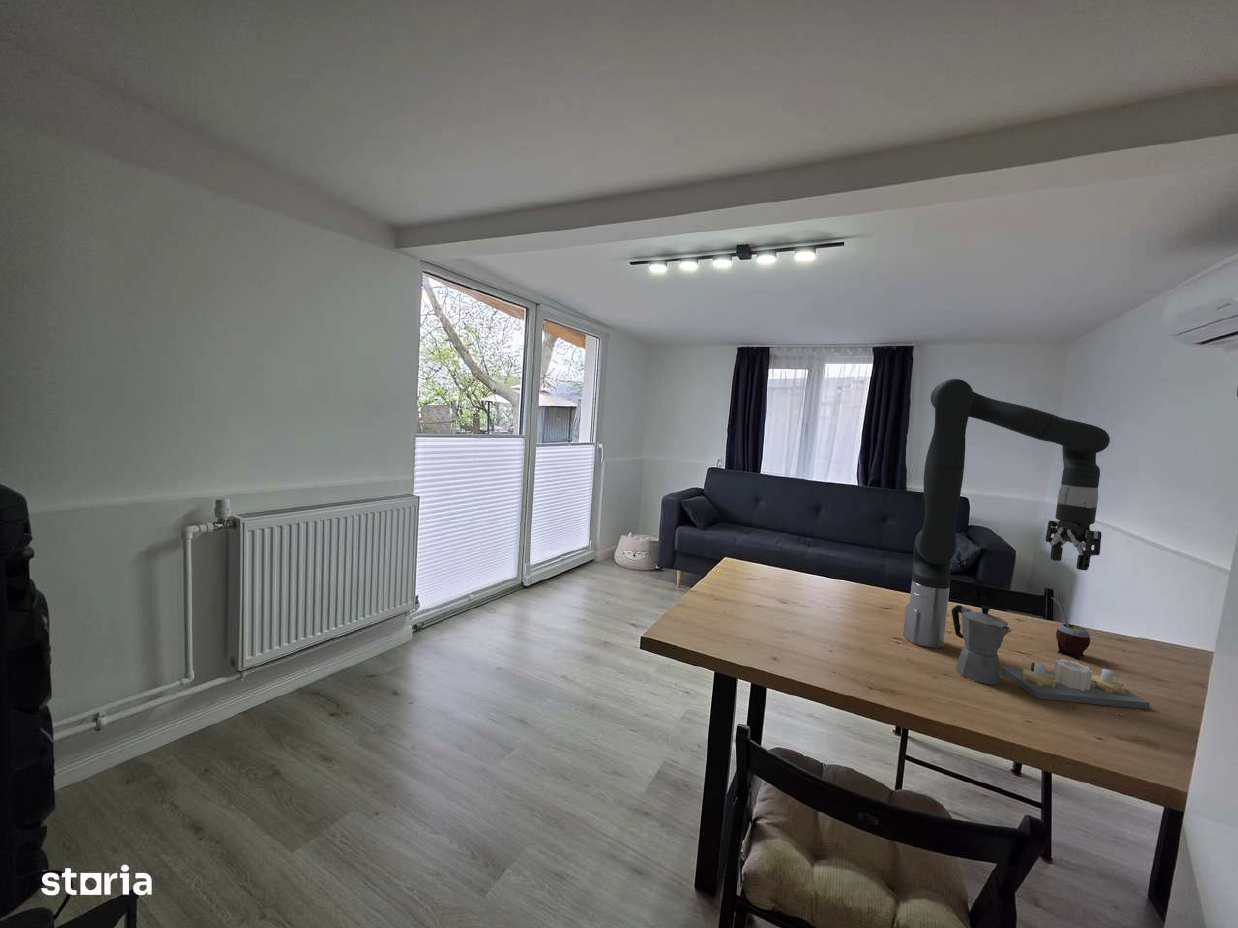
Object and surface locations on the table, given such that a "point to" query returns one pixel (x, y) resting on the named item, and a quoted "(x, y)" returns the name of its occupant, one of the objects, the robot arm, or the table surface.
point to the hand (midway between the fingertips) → (1068, 564)
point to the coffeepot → (979, 644)
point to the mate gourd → (1071, 638)
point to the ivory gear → (1072, 675)
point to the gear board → (1047, 688)
